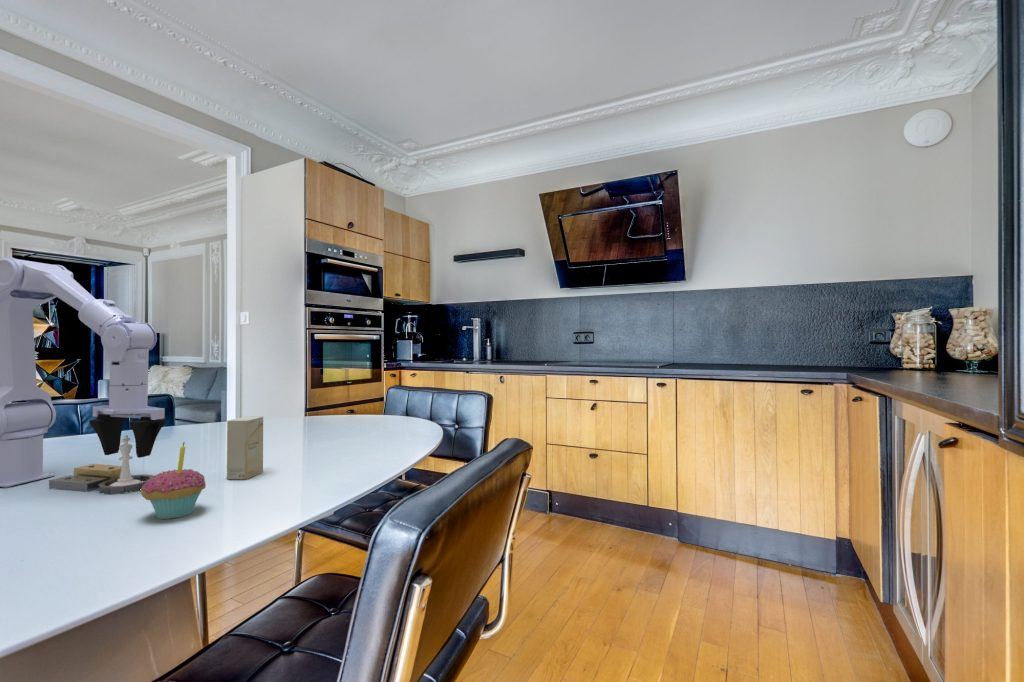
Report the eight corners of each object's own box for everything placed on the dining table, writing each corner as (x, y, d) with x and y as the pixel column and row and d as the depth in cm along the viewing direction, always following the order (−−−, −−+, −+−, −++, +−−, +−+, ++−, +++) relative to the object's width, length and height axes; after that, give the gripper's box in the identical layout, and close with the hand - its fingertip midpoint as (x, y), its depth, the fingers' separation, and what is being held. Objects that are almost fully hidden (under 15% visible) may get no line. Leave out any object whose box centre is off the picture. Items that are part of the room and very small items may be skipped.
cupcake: (217, 508, 77) (218, 437, 77) (165, 527, 69) (166, 448, 69) (181, 502, 80) (182, 433, 80) (127, 519, 72) (128, 443, 72)
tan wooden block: (73, 480, 90) (73, 467, 90) (92, 475, 94) (93, 463, 94) (110, 483, 89) (110, 470, 89) (128, 478, 92) (128, 465, 92)
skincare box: (246, 480, 93) (247, 420, 93) (225, 479, 93) (226, 420, 93) (264, 471, 99) (264, 415, 99) (243, 471, 99) (244, 415, 99)
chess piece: (147, 483, 90) (148, 432, 90) (130, 491, 85) (130, 438, 85) (120, 483, 90) (121, 433, 90) (101, 492, 85) (102, 438, 85)
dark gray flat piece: (46, 488, 86) (46, 480, 86) (93, 476, 94) (94, 468, 94) (123, 495, 83) (123, 486, 83) (165, 482, 91) (165, 474, 91)
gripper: (75, 385, 85) (73, 457, 85) (139, 387, 82) (138, 462, 82) (114, 382, 92) (113, 449, 92) (175, 384, 89) (173, 453, 89)
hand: (127, 455), depth 88 cm, fingers open, 7 cm apart
